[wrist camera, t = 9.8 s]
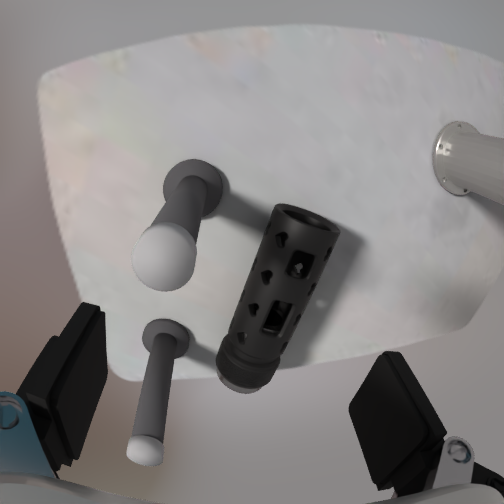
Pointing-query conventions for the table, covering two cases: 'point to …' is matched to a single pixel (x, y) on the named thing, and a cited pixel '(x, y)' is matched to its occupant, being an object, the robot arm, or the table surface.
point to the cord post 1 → (177, 226)
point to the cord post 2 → (156, 390)
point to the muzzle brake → (274, 296)
